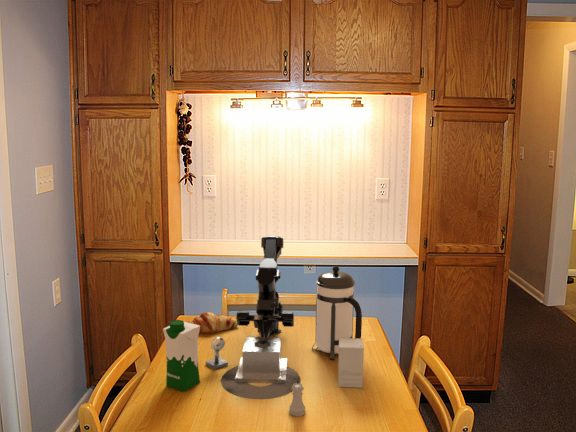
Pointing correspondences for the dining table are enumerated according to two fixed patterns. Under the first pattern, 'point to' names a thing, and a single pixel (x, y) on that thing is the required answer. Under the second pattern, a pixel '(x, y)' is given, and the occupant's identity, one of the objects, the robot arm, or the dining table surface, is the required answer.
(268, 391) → the platter
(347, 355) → the supplement box
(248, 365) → the cover
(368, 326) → the dining table surface
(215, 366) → the rubber stamp
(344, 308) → the coffee press
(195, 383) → the milk carton
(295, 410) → the rook chess piece
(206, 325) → the croissant
